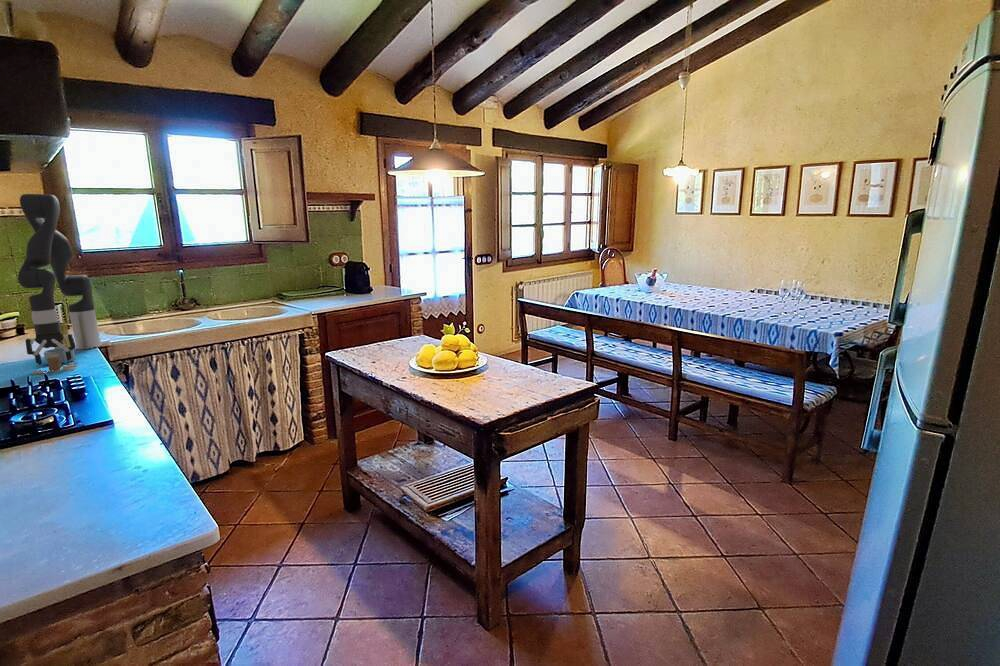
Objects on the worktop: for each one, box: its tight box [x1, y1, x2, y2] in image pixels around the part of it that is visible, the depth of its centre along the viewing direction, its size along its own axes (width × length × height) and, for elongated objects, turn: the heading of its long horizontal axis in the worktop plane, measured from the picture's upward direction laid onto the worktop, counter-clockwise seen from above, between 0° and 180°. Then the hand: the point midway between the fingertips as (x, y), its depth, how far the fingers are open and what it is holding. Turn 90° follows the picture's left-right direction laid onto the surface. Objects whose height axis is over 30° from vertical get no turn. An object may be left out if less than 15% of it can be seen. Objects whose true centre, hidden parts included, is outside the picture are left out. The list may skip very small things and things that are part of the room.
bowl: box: [43, 348, 76, 365], centre depth 213 cm, size 9×9×5 cm
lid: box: [31, 354, 79, 376], centre depth 202 cm, size 12×12×6 cm
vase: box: [54, 322, 71, 349], centre depth 222 cm, size 6×6×14 cm
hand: (54, 362), depth 202 cm, fingers open, 8 cm apart
